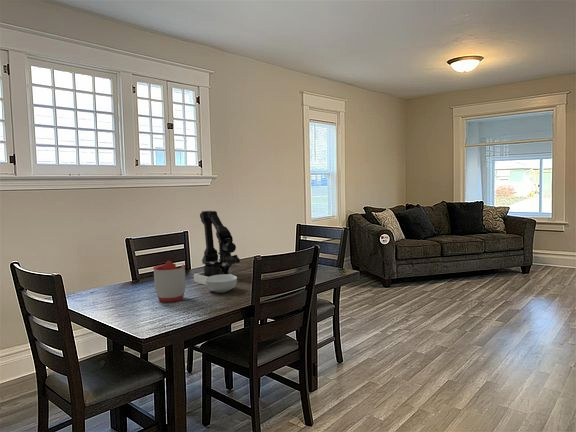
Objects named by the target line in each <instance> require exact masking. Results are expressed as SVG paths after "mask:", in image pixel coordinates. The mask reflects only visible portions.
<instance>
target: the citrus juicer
mask: <svg viewBox="0 0 576 432" xmlns="http://www.w3.org/2000/svg"><path fill="white" fill-rule="evenodd" d="M185 266H186V265H185V264H181V266H180V267H177V265H176V263H174V262H172V261H171V260H167V261H166V262H165V263H164V264H158V265H156V266H153V268H152V269H153V277H154V278H153V281H154V289H155V293H156V296H157V299H158V300H159V302H163V303H164V302H165V303H173V302H177V301H180V300H183V298H184V296H185V291H186V269H185Z"/></svg>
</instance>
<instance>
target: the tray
mask: <svg viewBox="0 0 576 432" xmlns="http://www.w3.org/2000/svg"><path fill="white" fill-rule="evenodd" d="M227 274H228V275H233V274H232V273H227ZM206 278H207V276H204V271H201V272H198V273H193V281H194V283H198V284H201V285H205V286H206V283H205V279H206Z"/></svg>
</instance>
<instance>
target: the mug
mask: <svg viewBox="0 0 576 432" xmlns="http://www.w3.org/2000/svg"><path fill="white" fill-rule="evenodd" d="M203 272H204V276H207V277H210V276H214V275H222V274H223V272H222V270H221V269H220V267H210V266H209V264H208V265H205V264H204V266H203Z"/></svg>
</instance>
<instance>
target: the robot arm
mask: <svg viewBox="0 0 576 432" xmlns="http://www.w3.org/2000/svg"><path fill="white" fill-rule="evenodd" d="M219 217H220V216H219V215H218V212H217V211H216V210H202V211H201V213H199V218H200V221H201V223H202V225H203V226H204V238H205V250H204V251H203V257H202V260H201V262H202V264H204V266H205V265H208V264H209V266H210V267H220V270H222V272H223V274H229V269H230V267H232V266H233V265H235V264H240V263H241V259H240V258H239V256H238V254H234V255H232V253H234V252H235V251H236V249H237V247H236V244H235V243H234V242H233V241H234V239H233V236H232V233H231V232H230V230H229V228H227V227H226V226H224V225H223V222H222V220H221V219H220V218H219ZM213 226H214V228H215V231H216V232H215V235H216V238H217V243H218V250H217V249H216V248H215V245H214V236H213V235H214V234H213V232H214V231H213Z"/></svg>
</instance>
